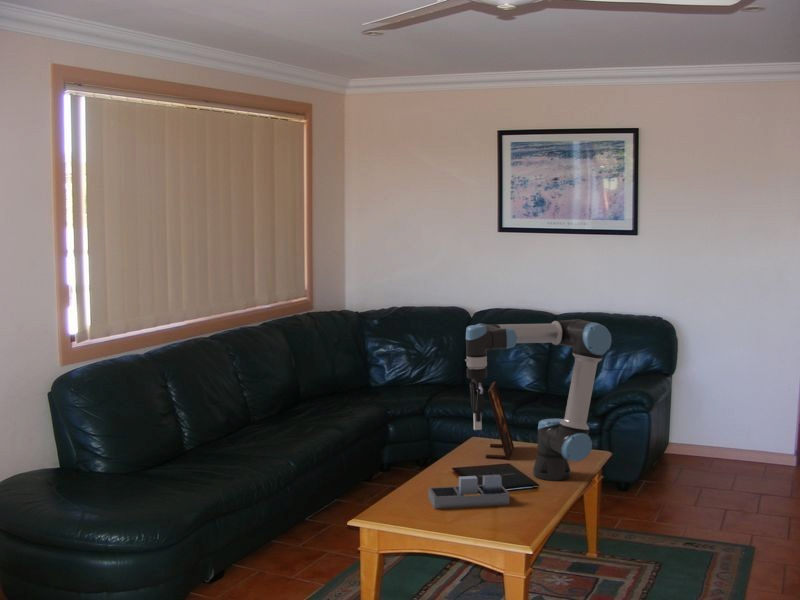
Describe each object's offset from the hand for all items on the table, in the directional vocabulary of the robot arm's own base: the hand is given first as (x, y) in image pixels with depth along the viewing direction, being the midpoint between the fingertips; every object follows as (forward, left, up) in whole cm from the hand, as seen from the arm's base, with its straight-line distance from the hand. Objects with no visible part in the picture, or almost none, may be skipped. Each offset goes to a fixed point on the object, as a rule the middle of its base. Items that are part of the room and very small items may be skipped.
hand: (477, 429), depth 338 cm
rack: (+4, +5, -26) cm, 27 cm away
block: (+5, +5, -25) cm, 26 cm away
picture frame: (-25, -57, -26) cm, 67 cm away
